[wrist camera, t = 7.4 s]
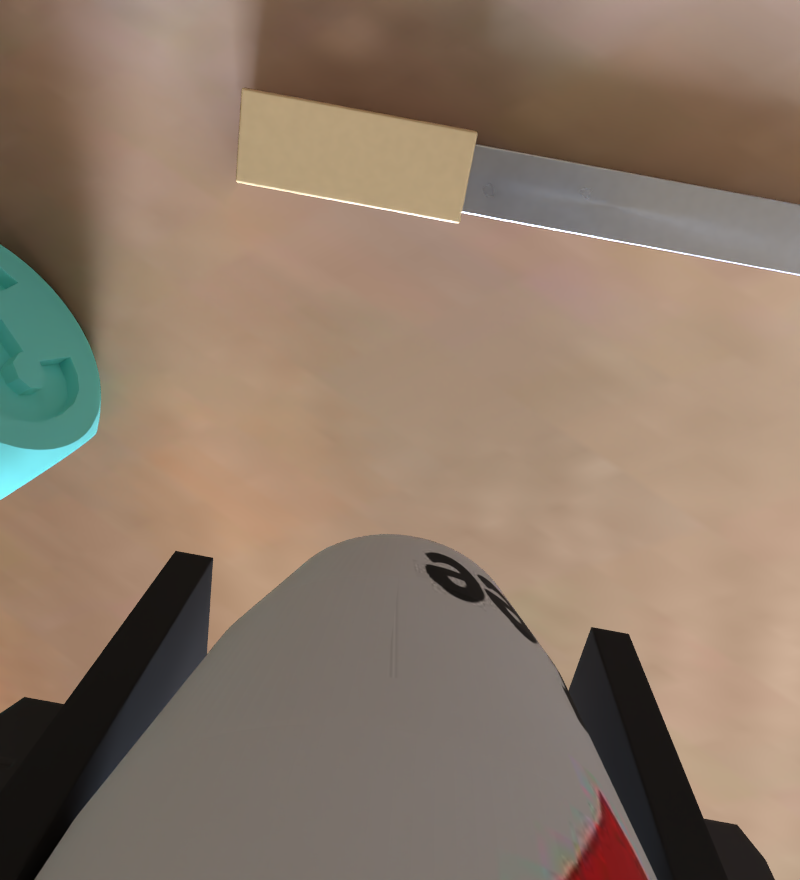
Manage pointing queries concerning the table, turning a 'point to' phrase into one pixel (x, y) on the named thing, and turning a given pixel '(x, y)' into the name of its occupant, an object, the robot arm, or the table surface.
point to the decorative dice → (40, 377)
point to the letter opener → (499, 183)
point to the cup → (363, 743)
